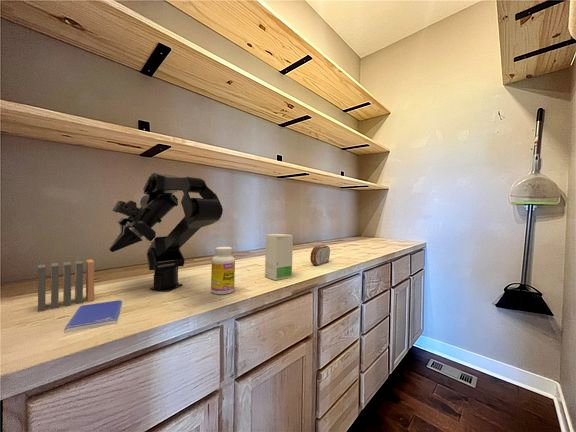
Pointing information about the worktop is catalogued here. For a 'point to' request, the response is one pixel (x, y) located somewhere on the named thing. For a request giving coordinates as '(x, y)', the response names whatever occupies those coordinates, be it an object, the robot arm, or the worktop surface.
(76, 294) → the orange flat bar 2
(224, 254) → the supplement bottle
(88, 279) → the domino
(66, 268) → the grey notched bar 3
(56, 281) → the domino
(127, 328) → the worktop surface
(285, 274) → the skincare box
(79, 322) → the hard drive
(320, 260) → the tin
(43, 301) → the domino
